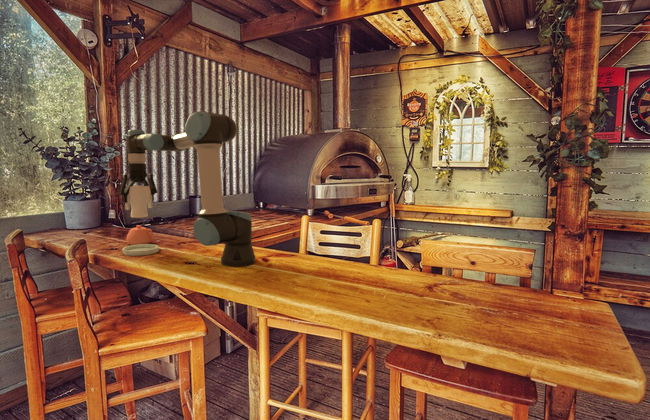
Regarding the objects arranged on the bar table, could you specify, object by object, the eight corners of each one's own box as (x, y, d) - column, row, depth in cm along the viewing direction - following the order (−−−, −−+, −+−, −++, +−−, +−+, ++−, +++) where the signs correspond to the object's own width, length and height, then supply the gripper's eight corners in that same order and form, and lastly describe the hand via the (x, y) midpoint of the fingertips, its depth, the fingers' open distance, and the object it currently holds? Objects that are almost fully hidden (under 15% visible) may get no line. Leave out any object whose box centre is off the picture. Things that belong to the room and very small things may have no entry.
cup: (155, 215, 195) (154, 185, 193) (143, 218, 184) (142, 186, 182) (135, 214, 196) (134, 184, 194) (122, 217, 185) (121, 186, 184)
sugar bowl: (134, 241, 216) (133, 223, 215) (159, 242, 215) (158, 224, 214) (121, 246, 204) (120, 227, 202) (148, 247, 203) (147, 227, 202)
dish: (165, 251, 194) (164, 247, 193) (132, 257, 181) (132, 252, 181) (148, 246, 203) (147, 242, 203) (116, 252, 191) (116, 247, 190)
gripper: (156, 162, 198) (157, 206, 201) (108, 162, 180) (110, 210, 183) (164, 163, 194) (165, 207, 196) (116, 162, 175) (118, 211, 178)
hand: (139, 208), depth 190 cm, fingers closed on cup, 11 cm apart
